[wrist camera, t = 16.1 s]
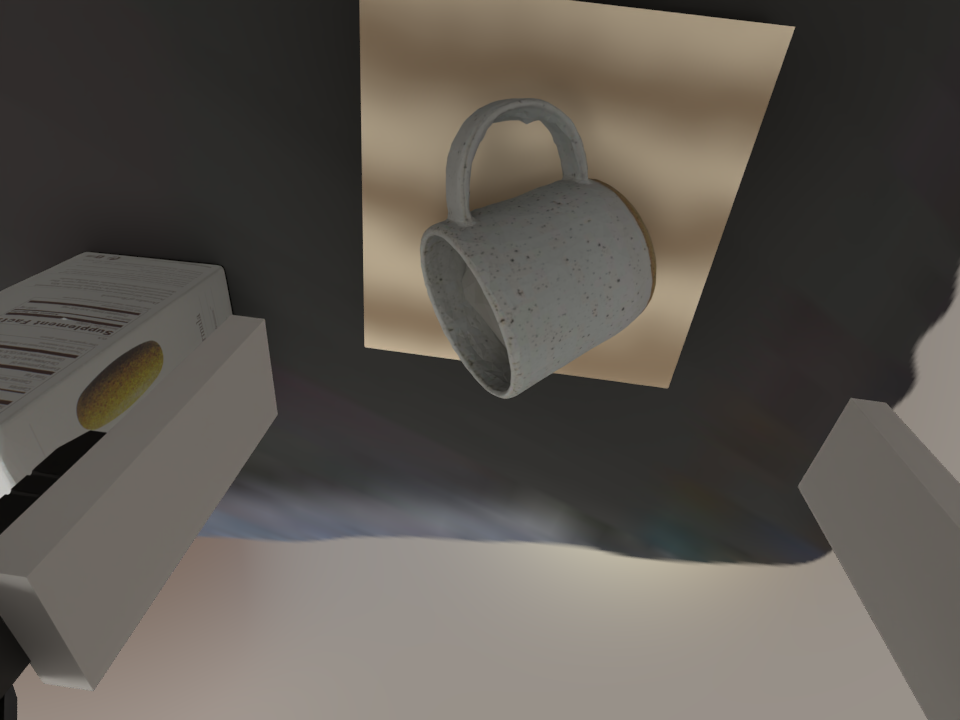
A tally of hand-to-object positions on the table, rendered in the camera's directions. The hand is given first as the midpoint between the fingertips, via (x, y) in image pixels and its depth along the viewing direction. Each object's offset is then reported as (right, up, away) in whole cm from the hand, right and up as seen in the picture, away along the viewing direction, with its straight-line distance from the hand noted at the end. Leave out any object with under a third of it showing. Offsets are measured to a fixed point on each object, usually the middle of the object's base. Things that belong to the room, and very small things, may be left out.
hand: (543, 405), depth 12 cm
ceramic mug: (+1, +8, +14) cm, 17 cm away
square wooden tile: (+2, +10, +17) cm, 20 cm away
